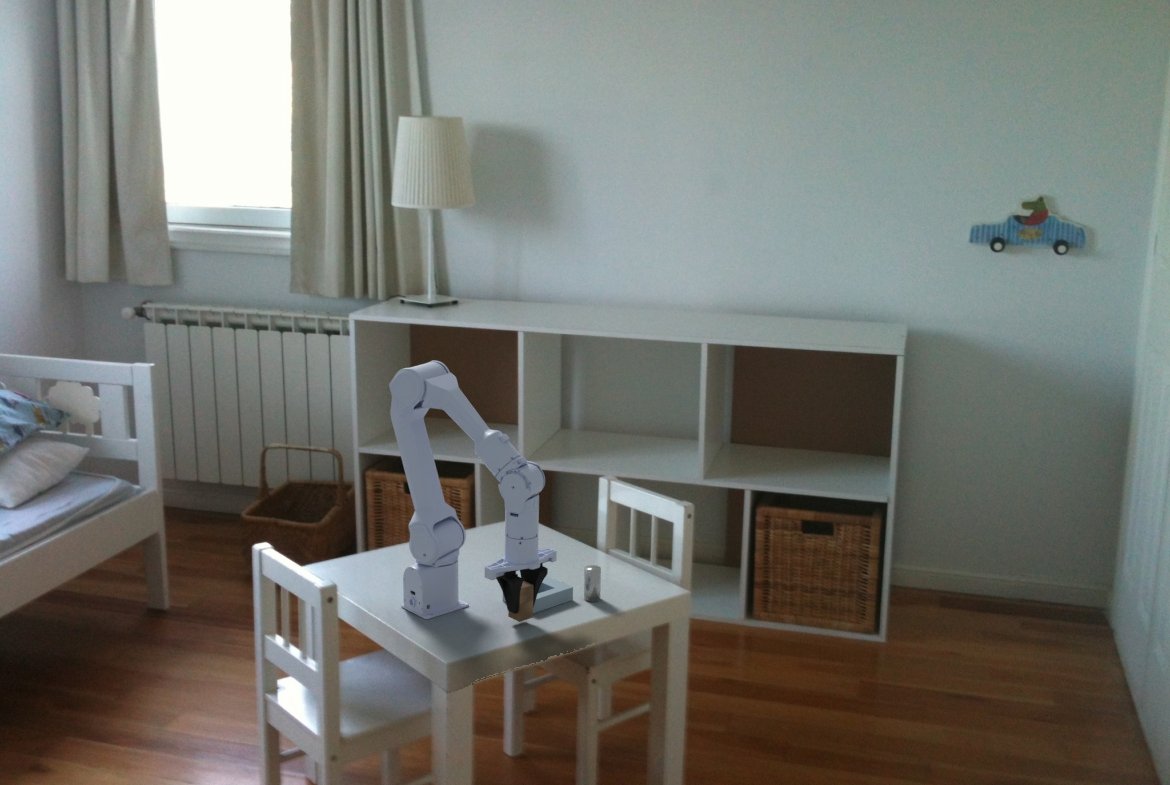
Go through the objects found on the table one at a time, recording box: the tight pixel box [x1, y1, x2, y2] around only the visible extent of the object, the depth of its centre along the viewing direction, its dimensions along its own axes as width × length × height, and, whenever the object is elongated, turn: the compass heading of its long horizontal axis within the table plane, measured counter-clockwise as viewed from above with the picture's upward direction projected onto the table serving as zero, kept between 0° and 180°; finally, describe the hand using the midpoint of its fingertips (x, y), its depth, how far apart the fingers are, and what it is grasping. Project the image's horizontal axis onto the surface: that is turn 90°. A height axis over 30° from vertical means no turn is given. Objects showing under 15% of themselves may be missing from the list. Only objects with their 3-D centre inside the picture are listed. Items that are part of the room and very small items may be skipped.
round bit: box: [583, 564, 602, 603], centre depth 208 cm, size 3×3×6 cm
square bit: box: [508, 581, 534, 623], centre depth 196 cm, size 3×3×6 cm
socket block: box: [502, 575, 574, 614], centre depth 207 cm, size 10×8×2 cm
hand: (520, 608), depth 196 cm, fingers closed on square bit, 3 cm apart
